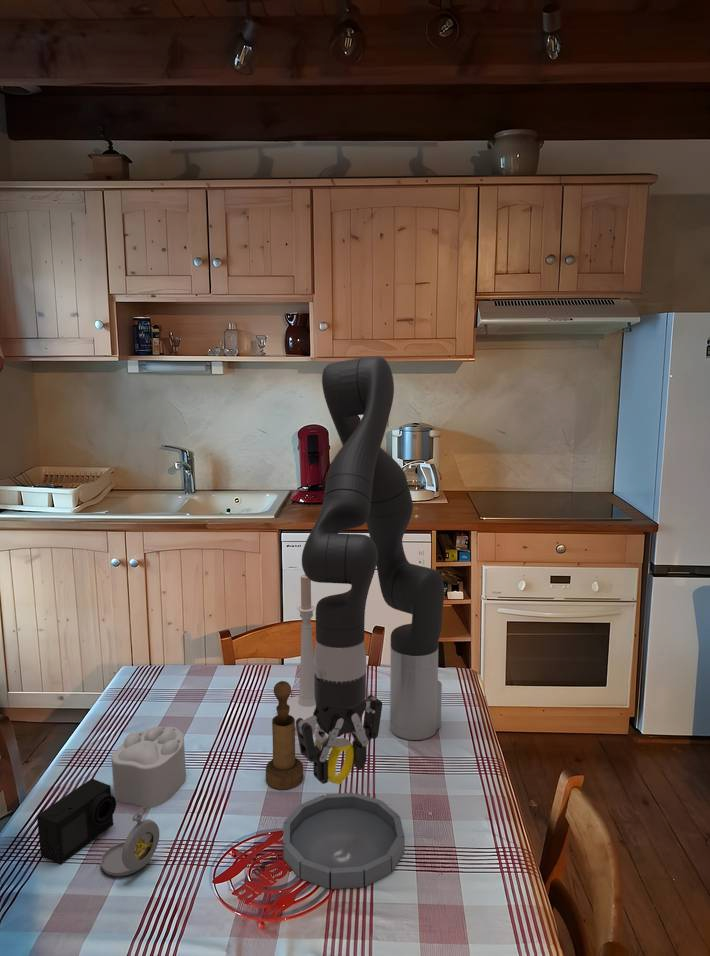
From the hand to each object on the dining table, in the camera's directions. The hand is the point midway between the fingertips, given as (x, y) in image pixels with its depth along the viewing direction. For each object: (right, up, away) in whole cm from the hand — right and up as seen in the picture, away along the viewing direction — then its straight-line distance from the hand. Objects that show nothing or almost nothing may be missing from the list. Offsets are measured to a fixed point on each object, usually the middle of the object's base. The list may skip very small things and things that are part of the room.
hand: (340, 773), depth 108 cm
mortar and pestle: (-10, -9, +19) cm, 23 cm away
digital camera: (-40, -12, +3) cm, 42 cm away
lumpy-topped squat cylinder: (-33, -9, +18) cm, 38 cm away
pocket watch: (-31, -13, -2) cm, 33 cm away
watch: (0, -1, 0) cm, 1 cm away
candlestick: (-7, -5, +41) cm, 42 cm away
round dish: (0, -12, +2) cm, 12 cm away
